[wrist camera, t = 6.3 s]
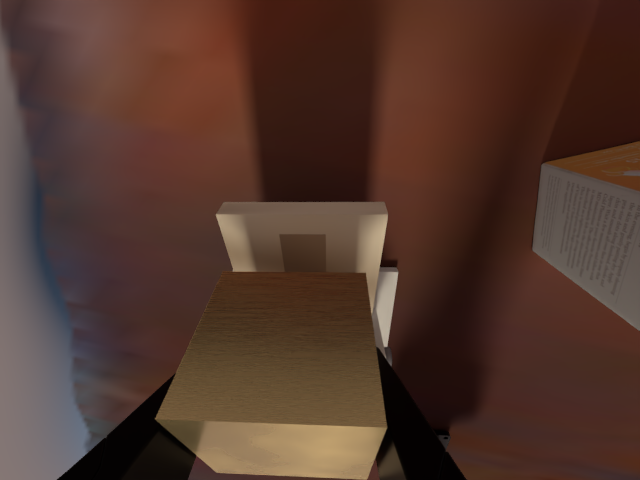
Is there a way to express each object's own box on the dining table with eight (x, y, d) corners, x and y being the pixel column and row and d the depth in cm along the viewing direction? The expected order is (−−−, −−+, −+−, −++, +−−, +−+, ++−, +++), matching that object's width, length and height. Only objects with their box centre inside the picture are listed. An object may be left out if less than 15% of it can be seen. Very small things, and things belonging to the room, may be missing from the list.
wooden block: (357, 349, 12) (366, 479, 9) (250, 346, 12) (217, 472, 9) (365, 272, 9) (387, 427, 5) (223, 271, 9) (154, 419, 6)
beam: (354, 405, 25) (355, 417, 24) (281, 403, 25) (279, 415, 24) (384, 201, 11) (388, 214, 10) (223, 202, 12) (215, 214, 11)
